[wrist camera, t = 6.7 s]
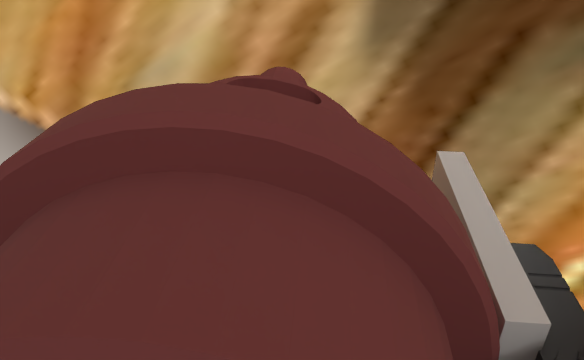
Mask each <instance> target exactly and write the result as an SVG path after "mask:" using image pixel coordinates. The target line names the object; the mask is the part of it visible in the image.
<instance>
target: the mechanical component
mask: <svg viewBox="0 0 584 360" xmlns="http://www.w3.org/2000/svg"><path fill="white" fill-rule="evenodd" d="M499 352H500V341H499V327H498V317H497V313H496V310H495V306H494V303H493V300H492V296H491V293H490V289H489V286H488V283H487V281H486V278H485V276H484V273H483V271H482V268H481V266H480V264H479V261H478V259H477V256H476V254H475V251H474V249H473V246H472V244H471V241H470V239H469V236H468V234H467V231H466V229H465V227H464V225H463V224H462V222H461V220H460V219H459V217H458V216H457V214H456V212H455V211H454V209H453V207H452V206H451V204H450V202H449V201H448V199H447V198H446V197H445V195H444V194H443V193H442V192H441V191H440V190H439V188H438V187H437V186H436V185H435V184H434V183H433V182H432V180H431V179H430V178H429V177H428V176H427V175H426V174H425V172H424V171H423V170H422V169H421V168H420V167H418V166H417V165H416V164H415V163H414V162H412V161H411V160H410V159H409V158H408V157H407V156H405V155H404V154H403V153H402V152H401V151H399V150H398V149H397V148H396V147H395V146H393V145H392V144H391V143H389V142H388V141H386V140H385V139H383V138H381V137H380V136H378V135H376V134H375V133H373V132H372V131H370V130H368V129H367V128H365V127H363V126H362V125H360V124H359V123H358V122H357V121H356V120H355V119H354V118H353V117H352V116H351V115H350V114H349V113H348V112H347V111H346V110H345V109H344V108H343V107H342V106H341V105H339V104H338V103H337V102H335V101H334V100H332V99H331V98H329V97H328V96H326V95H325V94H323V93H321V92H319V91H317V90H315V89H313V88H311V87H309V86H307V83H306V81H305V79H304V78H303V77H302V76H301V75H300V74H299V73H298V72H296V71H294V70H293V69H290V68H286V67H275V68H271V69H268V70H267V71H265V72H264V73H262V74H261V75H253V76H236V77H232V78H227V79H223V80H219V81H215V82H212V83H209V84H198V83H177V84H170V85H163V86H156V87H149V88H142V89H135V90H132V91H128V92H125V93H122V94H119V95H115V96H112V97H109V98H106V99H102V100H99V101H96V102H94V103H92V104H90V105H88V106H86V107H84V108H82V109H80V110H78V111H76V112H74V113H72V114H70V115H68V116H66V117H64V118H62V119H60V120H59V121H58V122H56V123H55V124H54V125H52V126H51V127H50V128H48V129H47V130H46V131H44V132H43V133H42V134H40V135H39V136H38V137H36V138H35V139H34V140H32V141H31V142H30V143H28V144H27V145H26V146H24V147H23V148H22V149H20V150H19V151H18V152H17V153H15V154H14V155H12V156H11V157H10V158H8V159H7V160H6V161H4V162H3V163H2V164H1V165H0V360H498V359H499Z"/></svg>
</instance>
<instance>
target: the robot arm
mask: <svg viewBox="0 0 584 360" xmlns="http://www.w3.org/2000/svg"><path fill="white" fill-rule="evenodd" d="M432 182H433V183H434V184H435V185H436V186H437V187H438V188H439V190H440V191H441V192H442V193H443V194H444V195H445V197H446V198H447V199H448V201H449V202H450V204H451V206H452V207H453V209H454V211H455V212H456V214H457V216H458V217H459V219H460V220H461V222H462V224H463V225H464V227H465V229H466V231H467V234H468V236H469V239H470V241H471V244H472V246H473V249H474V251H475V254H476V256H477V259H478V261H479V264H480V266H481V268H482V271H483V273H484V276H485V278H486V281H487V283H488V286H489V289H490V293H491V296H492V300H493V303H494V306H495V310H496V313H497V317H498V327H499V341H500V352H499V359H498V360H584V311H583V309H582V307H581V306H580V304H579V303H578V301H577V299H576V298H575V296H574V294H573V293H572V292H570V288H569V286H568V284H567V283H566V281H565V279H564V278H562V274H561V273H560V271H559V269H558V268H557V266H556V264H555V263H554V261H553V259H552V258H550V257H549V256H548V255H547V254H546V253H544V252H543V251H542V250H541V249H540V248H538V247H537V246H536V245H534V244H517V243H510V242H509V240H508V238H507V236H506V234H505V232H504V230H503V228H502V226H501V224H500V222H499V220H498V218H497V216H496V214H495V212H494V210H493V208H492V206H491V204H490V202H489V200H488V198H487V196H486V194H485V192H484V191H483V189H482V187H481V185H480V183H479V181H478V179H477V177H476V175H475V173H474V171H473V169H472V167H471V165H470V163H469V161H468V159H467V157H466V155H465V153H464V152H449V151H437V155H436V160H435V166H434V171H433V177H432Z"/></svg>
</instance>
